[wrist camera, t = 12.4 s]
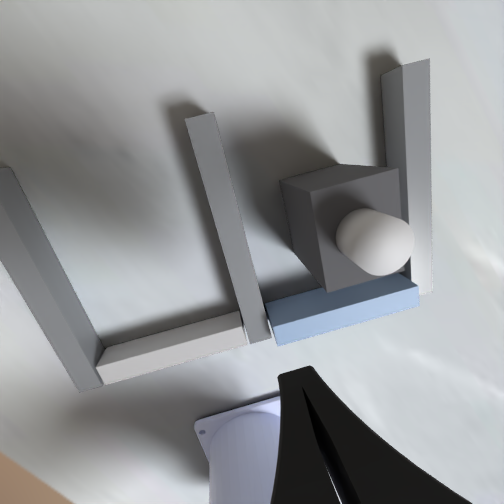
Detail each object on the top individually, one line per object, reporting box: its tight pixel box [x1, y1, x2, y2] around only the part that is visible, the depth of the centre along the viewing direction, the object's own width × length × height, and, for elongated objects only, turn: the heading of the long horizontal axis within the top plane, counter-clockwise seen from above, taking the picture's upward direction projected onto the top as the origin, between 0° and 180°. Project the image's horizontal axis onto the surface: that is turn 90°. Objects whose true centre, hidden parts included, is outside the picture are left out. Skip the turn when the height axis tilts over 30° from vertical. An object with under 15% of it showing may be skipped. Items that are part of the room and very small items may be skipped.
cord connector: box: [279, 164, 414, 293], centre depth 15 cm, size 5×4×8 cm
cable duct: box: [0, 58, 433, 393], centre depth 17 cm, size 14×24×3 cm, turn 103°
